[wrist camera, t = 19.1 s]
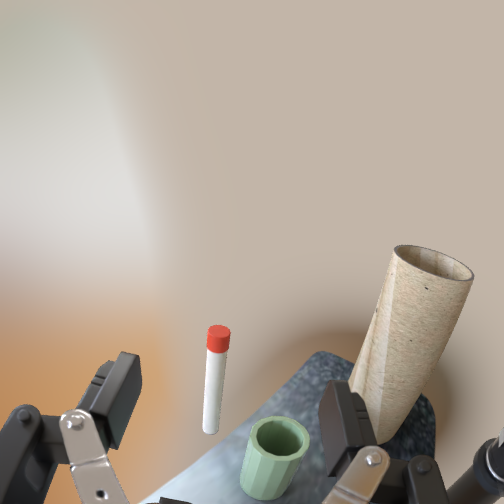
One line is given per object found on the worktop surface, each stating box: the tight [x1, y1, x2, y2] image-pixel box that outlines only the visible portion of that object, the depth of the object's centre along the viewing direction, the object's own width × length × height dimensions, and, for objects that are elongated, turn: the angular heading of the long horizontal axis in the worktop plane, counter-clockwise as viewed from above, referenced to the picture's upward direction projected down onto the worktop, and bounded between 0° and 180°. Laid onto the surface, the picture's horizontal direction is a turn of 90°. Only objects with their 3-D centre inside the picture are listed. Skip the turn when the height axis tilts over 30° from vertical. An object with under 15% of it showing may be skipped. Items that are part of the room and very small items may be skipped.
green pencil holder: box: [240, 416, 310, 500], centre depth 28 cm, size 6×6×10 cm
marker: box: [203, 325, 230, 435], centre depth 33 cm, size 2×2×16 cm
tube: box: [348, 245, 474, 445], centre depth 35 cm, size 10×10×25 cm
